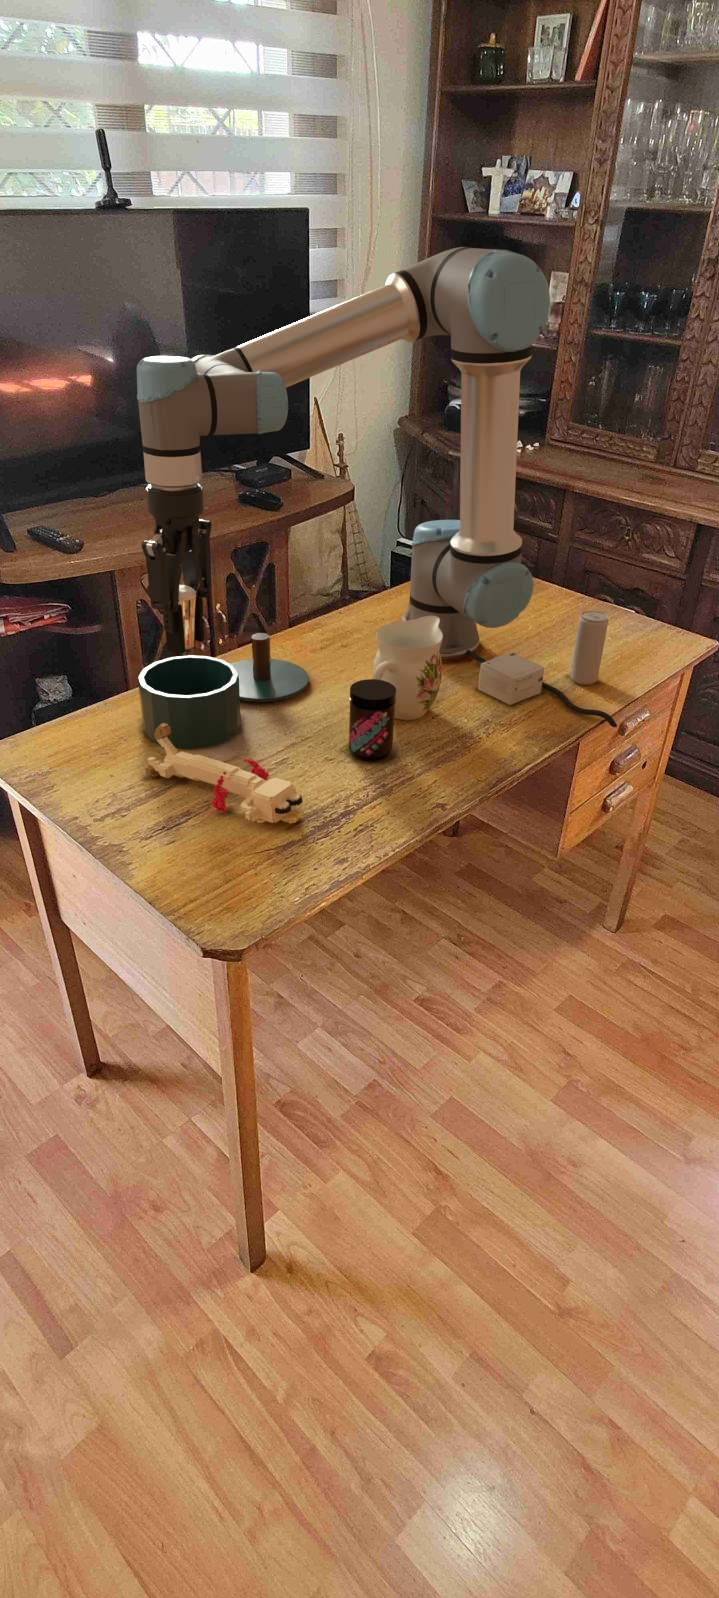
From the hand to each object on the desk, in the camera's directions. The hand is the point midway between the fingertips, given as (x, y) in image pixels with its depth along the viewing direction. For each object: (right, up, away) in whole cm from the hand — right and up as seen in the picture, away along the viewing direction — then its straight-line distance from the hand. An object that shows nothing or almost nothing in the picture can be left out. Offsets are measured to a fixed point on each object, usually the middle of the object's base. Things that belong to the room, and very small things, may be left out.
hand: (186, 644), depth 138 cm
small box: (+51, -5, +21) cm, 56 cm away
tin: (0, -11, +7) cm, 14 cm away
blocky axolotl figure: (+7, -23, -10) cm, 26 cm away
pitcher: (+33, -9, +13) cm, 36 cm away
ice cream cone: (0, 0, 0) cm, 0 cm away
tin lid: (+9, -3, +20) cm, 22 cm away
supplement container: (+27, -16, +2) cm, 32 cm away
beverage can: (+65, -2, +26) cm, 70 cm away
